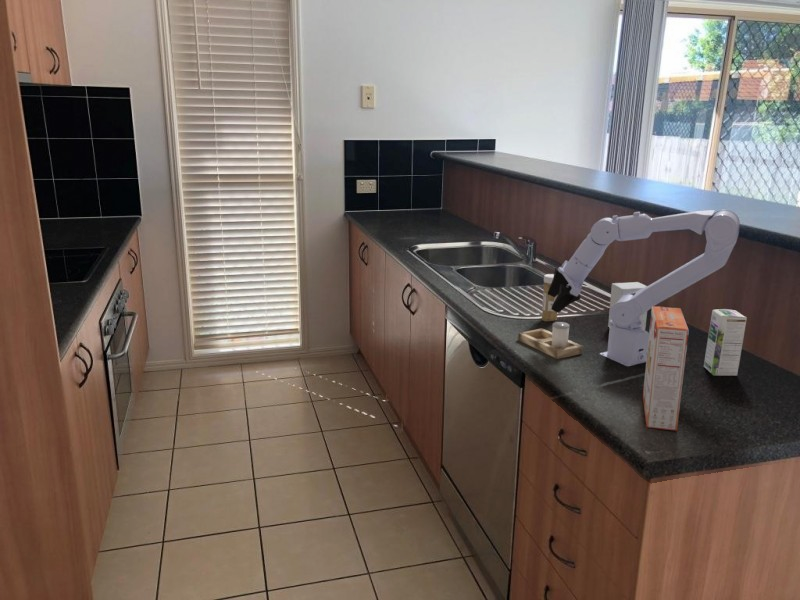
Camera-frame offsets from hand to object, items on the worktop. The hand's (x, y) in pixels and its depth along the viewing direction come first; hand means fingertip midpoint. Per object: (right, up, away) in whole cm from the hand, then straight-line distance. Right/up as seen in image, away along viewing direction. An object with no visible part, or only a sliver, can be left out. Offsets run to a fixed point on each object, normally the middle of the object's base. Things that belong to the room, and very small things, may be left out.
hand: (552, 302), depth 167 cm
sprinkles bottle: (+5, -5, +24) cm, 25 cm away
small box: (+24, -8, +15) cm, 29 cm away
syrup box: (+36, -16, -13) cm, 42 cm away
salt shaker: (+1, -12, -2) cm, 12 cm away
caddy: (-1, -12, +1) cm, 12 cm away
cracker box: (+13, -23, -35) cm, 43 cm away
